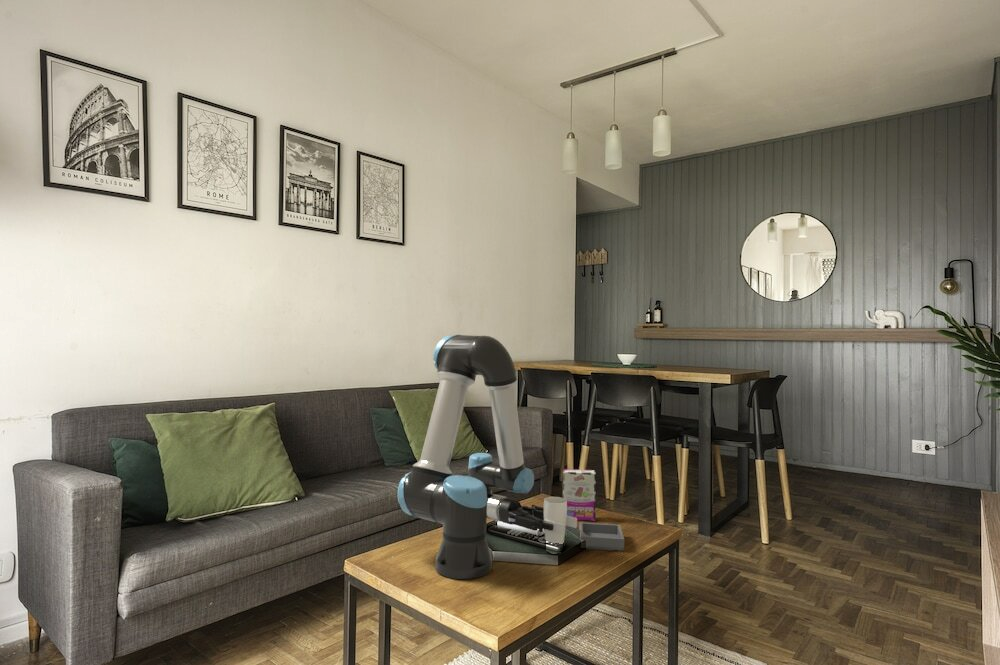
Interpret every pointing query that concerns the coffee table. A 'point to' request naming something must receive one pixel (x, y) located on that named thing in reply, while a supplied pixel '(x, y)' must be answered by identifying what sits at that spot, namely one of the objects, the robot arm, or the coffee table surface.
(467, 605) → the coffee table surface
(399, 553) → the coffee table surface
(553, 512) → the white cup
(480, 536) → the robot arm
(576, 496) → the candy bar box
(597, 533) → the tray
